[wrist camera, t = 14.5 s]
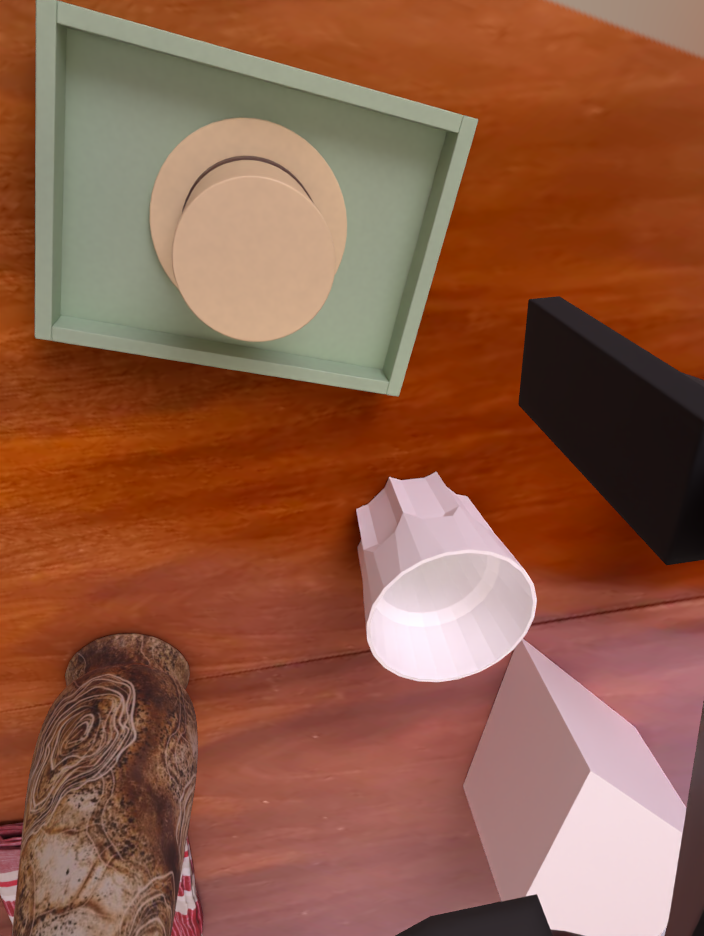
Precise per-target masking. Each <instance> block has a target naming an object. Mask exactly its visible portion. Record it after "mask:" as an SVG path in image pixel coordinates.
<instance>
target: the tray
mask: <svg viewBox="0 0 704 936" xmlns="http://www.w3.org/2000/svg"><path fill="white" fill-rule="evenodd" d="M239 117H242V118H256V119H262V120H267V121H270V122H273V123H276V124H279V125H281V126H283V127H285V128H287V129H289V130H291V131H293V132H295V133H296V134H298V135H299V136H301V137H302V138H303V139H305V140H306V141H307V142H308V143H309V144H311V145H312V146H313V147H314V148H315V149H316V150H317V151H318V152H319V154H320V155H321V156H322V157H323V158H324V159H325V161H326V162H327V164H328V165H329V167H330V168H331V170H332V171H333V173H334V175H335V177H336V179H337V181H338V184H339V186H340V189H341V192H342V195H343V198H344V203H345V208H346V216H347V238H346V244H345V250H344V253H343V257H342V260H341V263H340V265H339V267H338V270H337V272H336V274H335V276H334V281H333V284H332V288H331V291H330V293H329V295H328V298H327V300H326V301H325V303H324V305H323V307H322V308H321V309H320V311H319V312H318V313H317V315H316V316H315V317H314V318H313V319H312V320H311V321H310V322H309V323H308V324H306V325H305V326H304V327H302V328H301V329H299V330H298V331H296V332H294V333H293V334H290V335H288V336H286V337H283V338H280V339H276V340H272V341H265V342H249V341H242V340H238V339H233V338H231V337H228V336H225V335H223V334H221V333H219V332H217V331H215V330H213V329H212V328H210V327H209V326H207V325H206V324H205V323H204V322H202V321H201V320H200V319H199V318H198V317H197V316H196V315H195V314H194V313H193V312H192V310H191V309H190V308H189V307H188V305H187V304H186V302H185V301H184V299H183V297H182V295H181V293H180V291H179V290H178V289H177V287H176V286H175V285H174V284H173V283H172V281H171V280H170V278H169V277H168V276H167V274H166V273H165V271H164V269H163V267H162V265H161V263H160V261H159V259H158V256H157V254H156V251H155V248H154V245H153V241H152V237H151V230H150V221H149V215H150V201H151V194H152V190H153V187H154V183H155V180H156V177H157V175H158V173H159V171H160V169H161V167H162V165H163V163H164V162H165V160H166V159H167V157H168V155H169V154H170V153H171V152H172V151H173V150H174V148H175V147H176V146H177V145H178V144H179V143H180V142H181V141H182V140H184V139H185V138H186V137H187V136H188V135H190V134H191V133H193V132H194V131H196V130H198V129H199V128H201V127H203V126H206V125H208V124H210V123H213V122H216V121H220V120H224V119H230V118H239ZM477 123H478V119H475V118H472V117H468V116H465V115H461V114H457V113H454V112H450V111H447V110H443V109H440V108H436V107H433V106H429V105H426V104H422V103H419V102H415V101H411V100H408V99H404V98H401V97H397V96H394V95H390V94H387V93H383V92H380V91H376V90H373V89H369V88H365V87H362V86H358V85H355V84H351V83H348V82H344V81H341V80H337V79H334V78H330V77H327V76H323V75H319V74H316V73H312V72H309V71H305V70H302V69H298V68H295V67H291V66H288V65H284V64H281V63H277V62H273V61H270V60H266V59H263V58H259V57H256V56H252V55H249V54H245V53H242V52H238V51H235V50H231V49H227V48H224V47H220V46H217V45H213V44H210V43H206V42H203V41H199V40H196V39H192V38H189V37H185V36H181V35H178V34H174V33H171V32H167V31H164V30H160V29H157V28H153V27H150V26H146V25H143V24H139V23H135V22H132V21H128V20H125V19H121V18H118V17H114V16H111V15H107V14H104V13H100V12H97V11H93V10H89V9H86V8H82V7H79V6H75V5H72V4H68V3H65V2H61V1H57V0H36V104H35V338H37V339H43V340H49V341H51V340H52V341H56V342H62V343H68V344H74V345H81V346H87V347H93V348H99V349H106V350H112V351H118V352H124V353H130V354H137V355H143V356H149V357H155V358H162V359H168V360H174V361H180V362H187V363H193V364H199V365H205V366H212V367H218V368H224V369H230V370H237V371H243V372H249V373H255V374H262V375H268V376H274V377H280V378H287V379H293V380H299V381H305V382H311V383H318V384H324V385H330V386H336V387H343V388H349V389H355V390H361V391H368V392H374V393H380V394H387V395H392V396H399V394H400V390H401V387H402V383H403V380H404V376H405V373H406V369H407V366H408V362H409V359H410V355H411V352H412V349H413V345H414V342H415V338H416V335H417V331H418V328H419V324H420V321H421V317H422V314H423V310H424V307H425V303H426V300H427V296H428V293H429V289H430V286H431V283H432V279H433V276H434V272H435V269H436V265H437V262H438V258H439V255H440V251H441V248H442V244H443V241H444V237H445V234H446V230H447V227H448V223H449V220H450V217H451V213H452V210H453V206H454V203H455V199H456V196H457V192H458V189H459V185H460V182H461V178H462V175H463V171H464V168H465V164H466V161H467V158H468V154H469V151H470V147H471V144H472V140H473V137H474V133H475V130H476V126H477Z"/></svg>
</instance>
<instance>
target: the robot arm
mask: <svg viewBox="0 0 704 936" xmlns="http://www.w3.org/2000/svg"><path fill="white" fill-rule="evenodd" d="M519 406H520V407H521V408H522V409H523V410H524V411H525V412H526V413H527V414H528V415H529V417H530V418H531V419H532V420H533V421H534V422H535V423H536V424H537V425H538V426H539V427H540V429H541V430H542V431H543V432H544V433H545V434H546V435H547V436H548V437H549V438H550V439H551V440H552V442H553V443H554V444H555V445H556V446H557V447H558V448H559V449H560V450H561V451H562V452H563V453H564V455H565V456H566V457H567V458H568V459H569V460H570V461H571V462H572V463H573V464H574V465H575V467H576V468H577V469H578V470H579V471H580V472H581V473H582V474H583V475H584V476H585V477H586V478H587V480H588V481H589V482H590V483H591V484H592V485H593V486H594V487H595V488H596V489H597V490H598V491H599V493H600V494H601V495H602V496H603V497H604V498H605V499H606V500H607V501H608V502H609V503H610V504H611V506H612V507H613V508H614V509H615V510H616V511H617V512H618V513H619V514H620V515H621V516H622V518H623V519H624V520H625V521H626V522H627V523H628V524H629V525H630V526H631V527H632V528H633V529H634V531H635V532H636V533H637V534H638V535H639V536H640V537H641V538H642V539H643V540H644V541H645V542H646V544H647V545H648V546H649V547H650V548H651V549H652V550H653V551H654V552H655V553H656V554H657V556H658V557H659V558H660V559H661V560H662V561H663V562H664V563H665V564H666V565H671V564H678V563H685V562H691V561H698V560H704V381H703V380H702V379H699V378H696V377H693V376H690V375H687V374H684V373H681V372H679V371H678V370H676V369H674V368H673V367H671V366H670V365H668V364H666V363H665V362H663V361H662V360H660V359H659V358H657V357H655V356H654V355H652V354H651V353H649V352H647V351H646V350H644V349H643V348H641V347H639V346H638V345H636V344H635V343H633V342H631V341H630V340H628V339H627V338H625V337H623V336H622V335H620V334H619V333H617V332H615V331H614V330H612V329H611V328H609V327H607V326H606V325H604V324H603V323H601V322H599V321H598V320H596V319H595V318H593V317H591V316H590V315H588V314H587V313H585V312H583V311H582V310H580V309H579V308H577V307H575V306H574V305H572V304H571V303H569V302H567V301H566V300H564V299H563V298H561V297H549V298H538V299H529V302H528V313H527V323H526V333H525V343H524V354H523V364H522V374H521V384H520V395H519ZM396 936H584V935H580V934H576V933H572V932H568V931H561V930H552V929H550V927H549V924H548V922H547V919H546V916H545V914H544V911H543V909H542V906H541V903H540V901H539V898H538V896H537V894H535V895H530V896H525V897H521V898H516V899H511V900H506V901H502V902H497V903H492V904H487V905H482V906H478V907H473V908H468V909H463V910H459V911H454V912H449V913H444V914H440V915H435V916H430V917H428V918H427V919H425V920H423V921H421V922H419V923H418V924H416V925H414V926H412V927H410V928H408V929H407V930H405V931H403V932H401V933H399V934H398V935H396ZM665 936H704V703H703V709H702V715H701V721H700V727H699V734H698V740H697V746H696V752H695V759H694V765H693V771H692V777H691V783H690V790H689V796H688V802H687V808H686V815H685V821H684V827H683V833H682V839H681V846H680V852H679V858H678V864H677V871H676V877H675V883H674V889H673V895H672V902H671V908H670V913H669V919H668V923H667V928H666V932H665Z"/></svg>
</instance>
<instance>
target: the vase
mask: <svg viewBox="0 0 704 936" xmlns="http://www.w3.org/2000/svg"><path fill="white" fill-rule="evenodd" d="M189 676H190V673H189V666H188V663H187V661H186V660H185V658H184V657H183V656H182V654H181V653H180V652H179V651H178V650H176V649H175V648H174V647H172V646H171V645H170V644H168V643H166V642H164V641H162V640H160V639H157V638H154V637H151V636H147V635H141V634H115V635H110V636H106V637H103V638H100V639H97V640H95V641H93V642H91V643H90V644H88V645H87V646H85V647H84V648H82V649H81V650H80V651H78V652H77V653H76V654H75V655H74V656H73V658H72V659H71V660H70V662H69V665H68V668H67V671H66V674H65V679H66V684H67V687H66V688H65V689H64V690H63V691H62V692H61V694H60V695H59V696H58V697H57V698H56V700H55V701H54V703H53V704H52V706H51V708H50V710H49V711H48V714H47V716H46V718H45V721H44V723H43V726H42V728H41V731H40V734H39V737H38V740H37V743H36V747H35V751H34V755H33V760H32V764H31V769H30V774H29V780H28V787H27V794H26V801H25V812H24V820H23V830H22V840H21V851H20V861H19V870H18V880H17V891H16V900H15V909H14V920H13V929H12V936H171V933H172V927H173V921H174V915H175V909H176V903H177V897H178V891H179V884H180V878H181V871H182V865H183V859H184V852H185V845H186V839H187V834H188V827H189V821H190V815H191V809H192V803H193V797H194V790H195V782H196V773H197V757H198V735H197V722H196V715H195V711H194V707H193V704H192V701H191V699H190V697H189V695H188V693H187V692H186V690H185V689H186V687H187V685H188V681H189Z"/></svg>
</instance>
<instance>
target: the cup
mask: <svg viewBox="0 0 704 936" xmlns="http://www.w3.org/2000/svg"><path fill="white" fill-rule="evenodd" d="M356 512H357V517H358V523H359V528H360V534H361V541H360V543H359V545H358V547H357V549H358V555H359V561H360V568H361V574H362V580H363V599H364V610H365V622H366V634H367V641H368V644H369V646H370V649H371V651H372V654H373V656H374V657H375V658H376V659H377V660H378V661H379V662H380V663H381V664H382V666H383V667H384V668H386V669H388V670H389V671H391V672H393V673H395V674H396V675H398V676H400V677H404V678H408V679H411V680H415V681H423V682H442V681H449V680H456V679H460V678H463V677H466V676H469V675H472V674H475V673H478V672H480V671H482V670H484V669H486V668H488V667H490V666H491V665H493V664H495V663H497V662H499V661H500V660H501V659H502V658H503V657H505V656H506V655H507V654H508V653H510V652H511V651H512V650H513V649H514V648H515V647H516V646H517V645H518V643H519V642H520V641H521V640H522V639H523V637H524V636H525V635H526V633H527V631H528V629H529V627H530V625H531V623H532V621H533V619H534V615H535V609H536V602H537V599H536V593H535V588H534V584H533V582H532V581H531V579H530V577H529V576H528V574H527V573H526V571H525V570H524V568H523V567H522V566H521V565H520V563H519V562H518V561H517V560H516V559H515V557H514V556H513V555H512V554H511V552H510V551H509V550H508V549H507V548H506V546H505V545H504V544H503V543H502V542H501V540H500V539H499V538H498V537H497V536H496V535H495V533H494V532H493V531H492V529H491V528H490V526H489V525H488V524H487V522H486V521H485V520H484V518H483V517H482V516H481V514H480V513H479V512H478V510H477V509H476V507H475V506H474V505H473V503H472V502H471V501H470V499H469V498H468V497H467V496H463V495H458V494H455V493H454V492H453V491H451V490H450V489H449V488H448V487H446V485H445V484H444V482H443V481H442V479H441V478H440V476H439V475H438V473H437V472H435V473H433V474H431V475H429V476H427V477H425V478H417V479H408V480H398V479H395V478H392V477H389V478H388V481H387V483H386V486H385V488H384V489H383V490H382V491H381V492H380V493H379V494H378V495H377V496H376V497H375V498H374V499H373V500H372V501H371V502H370V503H369V504H367V505H365V506H362V507H360V508H358V509H356Z"/></svg>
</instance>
